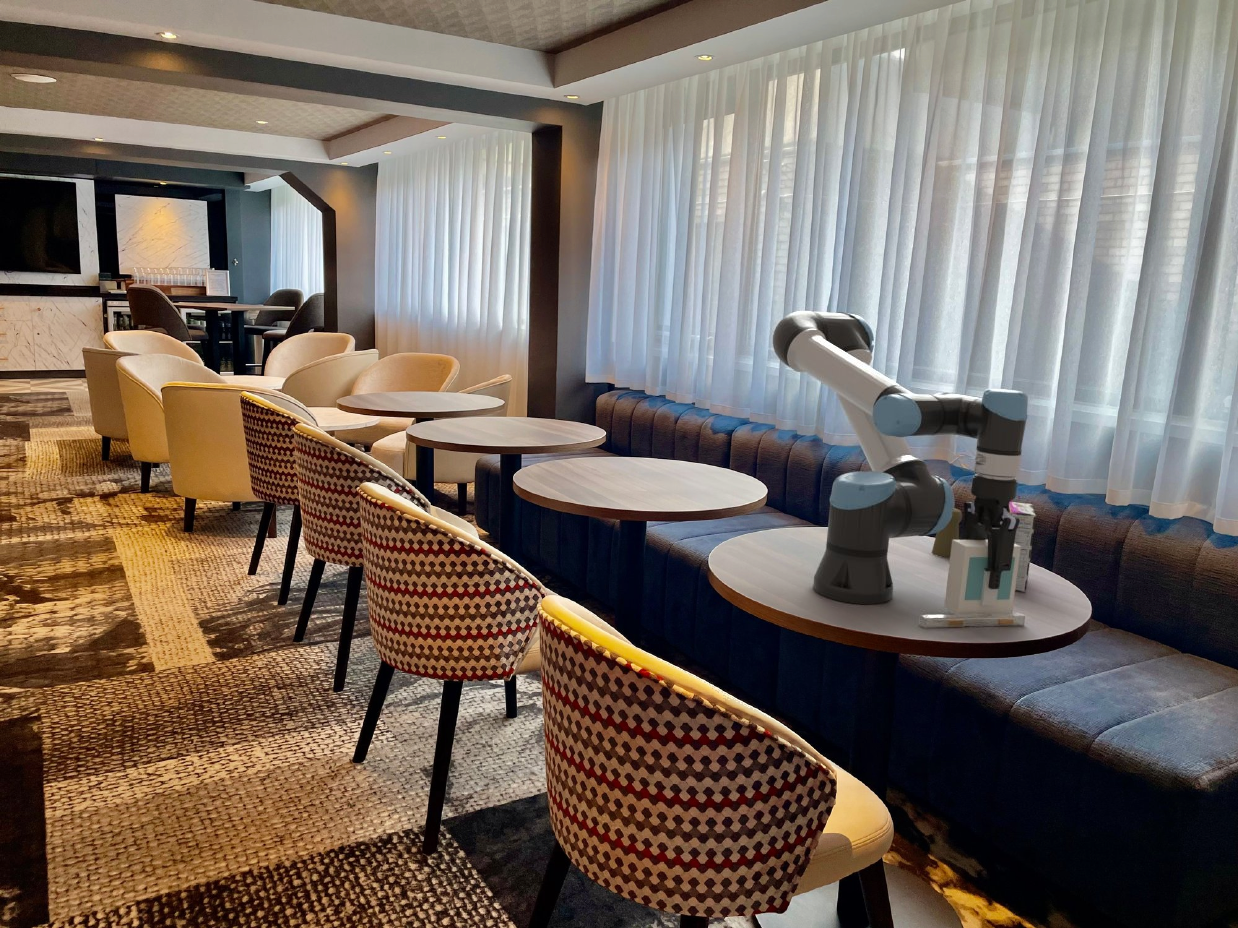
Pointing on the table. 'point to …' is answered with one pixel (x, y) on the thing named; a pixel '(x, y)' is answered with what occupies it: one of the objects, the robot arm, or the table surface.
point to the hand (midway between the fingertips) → (979, 599)
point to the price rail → (972, 620)
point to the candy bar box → (1023, 540)
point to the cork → (947, 536)
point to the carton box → (977, 579)
